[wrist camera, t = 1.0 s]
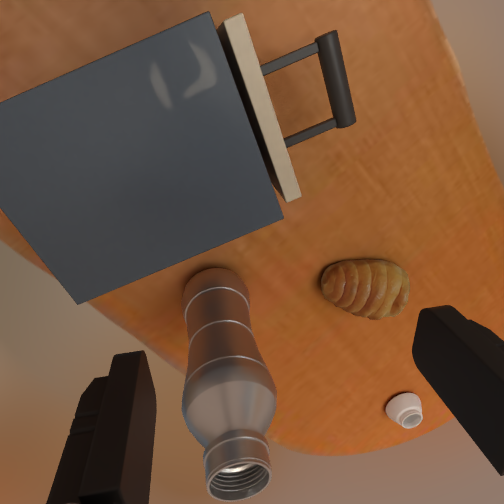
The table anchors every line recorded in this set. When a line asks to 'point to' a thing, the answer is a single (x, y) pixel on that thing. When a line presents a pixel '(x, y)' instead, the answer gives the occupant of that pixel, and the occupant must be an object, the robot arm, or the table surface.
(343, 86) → the drawer
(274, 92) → the table surface
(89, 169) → the cabinet
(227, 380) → the metallic bottle
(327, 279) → the pastry
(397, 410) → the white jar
